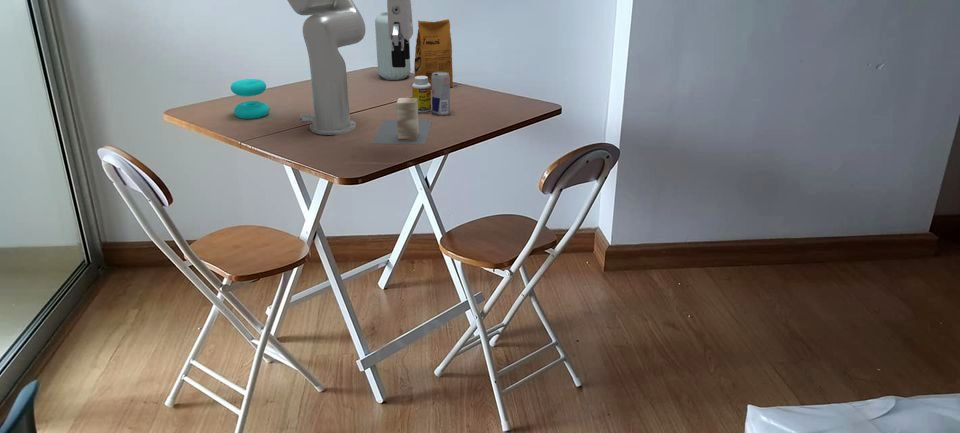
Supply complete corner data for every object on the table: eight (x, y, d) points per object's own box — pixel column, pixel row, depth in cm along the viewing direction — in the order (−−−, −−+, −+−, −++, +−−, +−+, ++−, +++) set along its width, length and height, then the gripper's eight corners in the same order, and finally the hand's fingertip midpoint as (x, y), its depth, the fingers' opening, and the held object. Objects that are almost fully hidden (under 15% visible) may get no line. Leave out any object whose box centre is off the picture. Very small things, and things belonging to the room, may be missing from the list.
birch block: (398, 139, 196) (396, 103, 192) (400, 133, 200) (398, 98, 196) (416, 139, 195) (415, 103, 191) (418, 134, 200) (417, 98, 196)
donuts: (267, 77, 220) (263, 85, 211) (271, 109, 224) (267, 119, 215) (232, 78, 218) (227, 86, 209) (237, 111, 222) (232, 120, 213)
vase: (397, 83, 254) (393, 17, 245) (371, 78, 260) (367, 14, 251) (417, 76, 263) (415, 12, 254) (392, 72, 269) (389, 9, 259)
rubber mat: (371, 145, 193) (371, 143, 193) (384, 120, 213) (383, 119, 213) (425, 145, 192) (424, 144, 192) (432, 121, 212) (432, 119, 212)
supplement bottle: (418, 114, 219) (417, 80, 215) (409, 109, 223) (408, 76, 219) (434, 111, 222) (433, 77, 218) (425, 107, 226) (424, 74, 222)
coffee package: (413, 83, 253) (410, 18, 244) (448, 81, 256) (447, 16, 247) (418, 90, 244) (415, 23, 235) (454, 88, 247) (453, 21, 238)
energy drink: (433, 110, 222) (432, 71, 217) (450, 111, 222) (450, 71, 217) (431, 115, 217) (430, 75, 212) (449, 116, 217) (448, 75, 212)
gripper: (409, -6, 166) (412, 71, 173) (417, -15, 182) (419, 55, 189) (376, -6, 166) (380, 71, 173) (387, -15, 182) (390, 55, 189)
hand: (401, 62), depth 181 cm, fingers open, 8 cm apart
